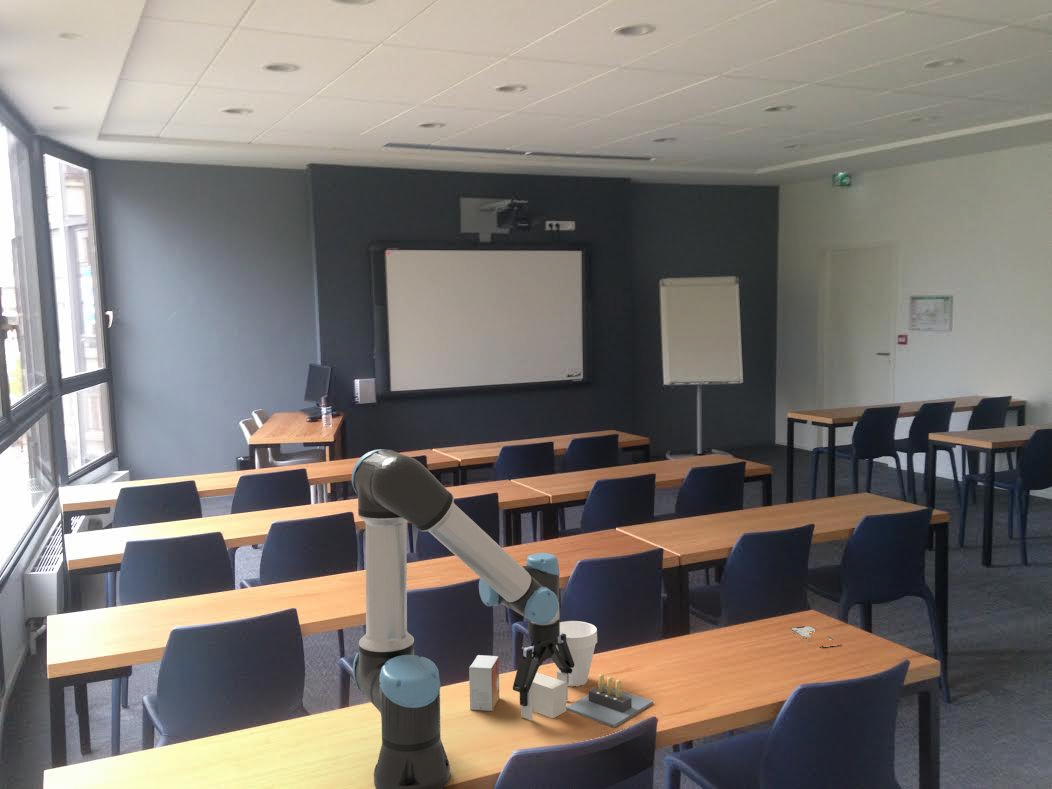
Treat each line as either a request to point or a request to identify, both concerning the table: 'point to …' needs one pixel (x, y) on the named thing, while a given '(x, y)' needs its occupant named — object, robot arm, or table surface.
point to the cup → (579, 649)
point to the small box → (484, 682)
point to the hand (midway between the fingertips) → (545, 708)
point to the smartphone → (804, 631)
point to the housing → (548, 695)
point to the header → (609, 704)
